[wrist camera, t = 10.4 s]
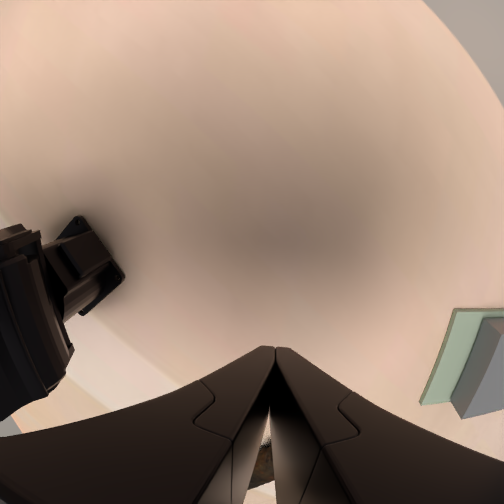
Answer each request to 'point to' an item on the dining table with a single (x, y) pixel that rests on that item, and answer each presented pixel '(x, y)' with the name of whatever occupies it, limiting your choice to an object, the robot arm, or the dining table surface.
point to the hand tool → (262, 468)
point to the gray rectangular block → (483, 373)
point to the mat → (455, 353)
